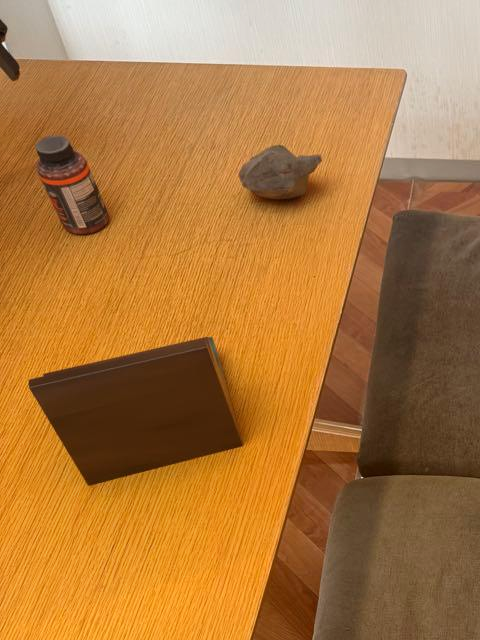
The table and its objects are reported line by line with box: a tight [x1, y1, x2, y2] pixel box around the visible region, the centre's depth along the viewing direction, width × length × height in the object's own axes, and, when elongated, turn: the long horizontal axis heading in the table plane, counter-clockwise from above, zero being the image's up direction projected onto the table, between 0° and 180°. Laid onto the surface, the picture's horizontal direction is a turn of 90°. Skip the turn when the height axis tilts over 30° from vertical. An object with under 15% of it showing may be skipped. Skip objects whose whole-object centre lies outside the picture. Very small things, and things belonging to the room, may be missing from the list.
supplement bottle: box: [34, 134, 110, 235], centre depth 114 cm, size 6×6×11 cm
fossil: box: [238, 144, 323, 200], centre depth 120 cm, size 11×9×8 cm
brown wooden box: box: [27, 336, 244, 486], centre depth 93 cm, size 15×16×14 cm
